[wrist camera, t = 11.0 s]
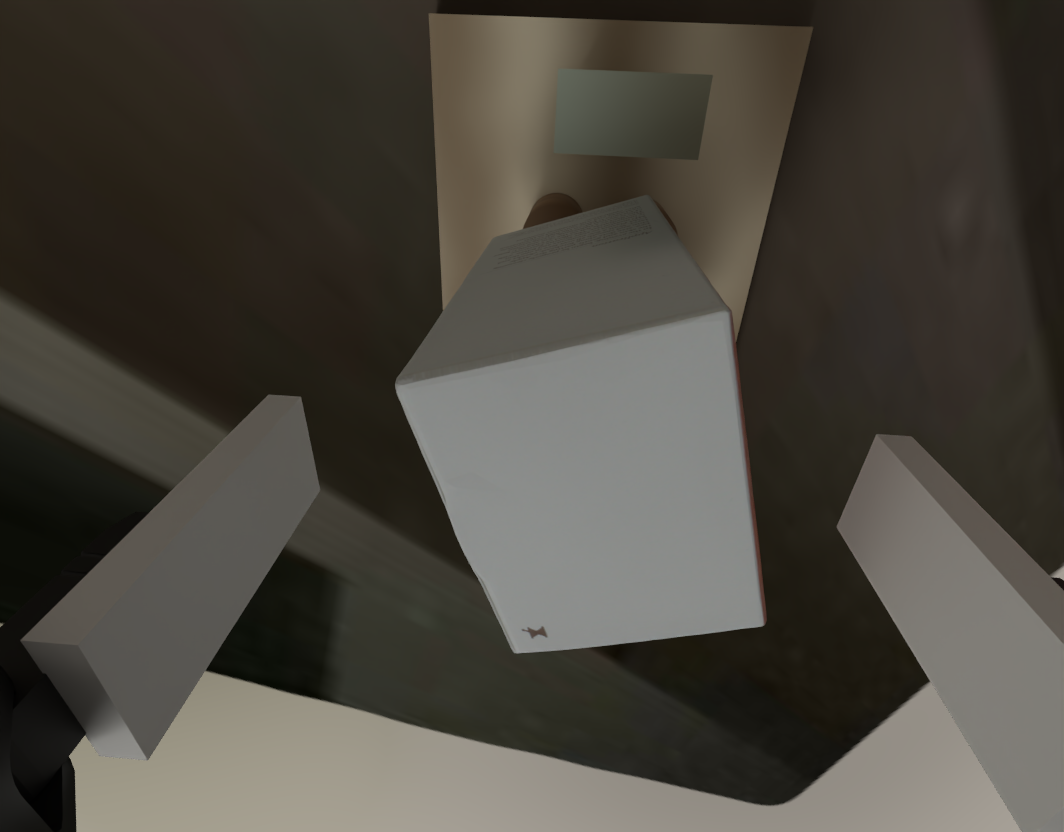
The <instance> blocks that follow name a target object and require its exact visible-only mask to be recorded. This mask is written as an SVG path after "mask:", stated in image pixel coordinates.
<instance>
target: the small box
mask: <svg viewBox="0 0 1064 832" xmlns="http://www.w3.org/2000/svg"><path fill="white" fill-rule="evenodd" d="M395 388H396V392H397V396H398V398H399V400H400V402H401V404H402V407H403V409H404V412H405V414H406V417H407V419H408V422H409V424H410V426H411V428H412V431H413V433H414V435H415V437H416V440H417V442H418V445H419V447H420V449H421V452H422V454H423V457H424V459H425V461H426V463H427V465H428V468H429V470H430V472H431V474H432V477H433V479H434V481H435V483H436V486H437V488H438V491H439V493H440V495H441V498H442V500H443V502H444V504H445V507H446V510H447V512H448V515H449V518H450V521H451V523H452V526H453V529H454V532H455V534H456V537H457V539H458V541H459V543H460V545H461V548H462V550H463V552H464V554H465V556H466V558H467V560H468V561H469V563H470V565H471V567H472V569H473V571H474V573H475V574H476V576H477V577H478V579H479V581H480V583H481V585H482V587H483V589H484V591H485V593H486V595H487V597H488V599H489V602H490V604H491V606H492V608H493V610H494V613H495V615H496V617H497V619H498V621H499V623H500V625H501V627H502V629H503V631H504V633H505V636H506V638H507V640H508V642H509V644H510V647H511V649H512V650H513V652H514V653H528V652H543V651H556V650H567V649H577V648H587V647H596V646H605V645H613V644H622V643H631V642H640V641H648V640H656V639H666V638H672V637H681V636H689V635H698V634H707V633H714V632H722V631H729V630H736V629H743V628H753V627H760V626H763V625H765V623H766V620H767V618H766V607H765V598H764V589H763V579H762V569H761V560H760V550H759V541H758V533H757V524H756V515H755V506H754V498H753V490H752V480H751V469H750V461H749V453H748V444H747V436H746V429H745V419H744V411H743V402H742V393H741V383H740V374H739V365H738V357H737V349H736V341H735V333H734V324H733V316H732V310H731V309H730V308H729V307H728V306H727V305H726V304H725V303H724V301H723V300H722V298H721V297H720V295H719V294H718V292H717V291H716V290H715V288H714V287H713V286H712V284H711V283H710V281H709V280H708V278H707V277H706V275H705V274H704V272H703V271H702V270H701V268H700V267H699V265H698V264H697V262H696V261H695V260H694V258H693V257H692V256H691V254H690V253H689V251H688V250H687V249H686V247H685V246H684V244H683V242H682V241H681V240H680V238H679V237H678V236H677V234H676V233H675V231H674V230H673V228H672V227H671V225H670V224H669V223H668V221H667V220H666V218H665V217H664V215H663V214H662V213H661V211H660V209H659V208H658V207H657V205H656V204H655V202H654V201H653V199H652V198H651V196H649V195H644V196H640V197H637V198H633V199H630V200H626V201H622V202H619V203H615V204H612V205H608V206H604V207H601V208H597V209H594V210H590V211H586V212H583V213H579V214H576V215H572V216H568V217H565V218H561V219H558V220H554V221H551V222H547V223H543V224H540V225H536V226H532V227H529V228H525V229H521V230H518V231H514V232H511V233H507V234H503V235H500V236H497V237H494V238H493V239H492V240H491V242H490V243H489V244H488V246H487V247H486V249H485V250H484V252H483V253H482V255H481V256H480V258H479V259H478V260H477V262H476V263H475V265H474V266H473V268H472V269H471V271H470V272H469V274H468V275H467V277H466V278H465V280H464V282H463V283H462V285H461V286H460V288H459V289H458V291H457V292H456V293H455V294H454V296H453V298H452V299H451V301H450V302H449V303H448V305H447V306H446V308H445V309H444V311H443V312H442V314H441V315H440V317H439V318H438V320H437V321H436V323H435V324H434V326H433V327H432V329H431V330H430V332H429V333H428V335H427V336H426V338H425V339H424V341H423V342H422V344H421V345H420V347H419V348H418V349H417V351H416V352H415V354H414V356H413V357H412V358H411V360H410V361H409V363H408V364H407V365H406V367H405V368H404V369H403V371H402V372H401V373H400V375H399V376H398V377H397V379H396V384H395Z"/></svg>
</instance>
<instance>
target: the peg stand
mask: <svg viewBox="0 0 1064 832" xmlns="http://www.w3.org/2000/svg"><path fill="white" fill-rule="evenodd" d="M429 27H430V48H431V69H432V90H433V111H434V132H435V153H436V174H437V194H438V215H439V236H440V257H441V278H442V299H443V311H444V309H445V308H446V306H447V305H448V303H449V302H450V301H451V299H452V298H453V296H454V294H455V293H456V292H457V291H458V289H459V288H460V286H461V285H462V283H463V282H464V280H465V278H466V277H467V275H468V274H469V272H470V271H471V269H472V268H473V266H474V265H475V263H476V262H477V260H478V259H479V258H480V256H481V255H482V253H483V252H484V250H485V249H486V247H487V246H488V244H489V243H490V242H491V240H492V239H493V238H494V237H497V236H500V235H503V234H507V233H511V232H514V231H518V230H521V229H525V228H529V227H532V226H536V225H540V224H543V223H547V222H551V221H554V220H558V219H561V218H565V217H568V216H572V215H576V214H579V213H583V212H586V211H590V210H594V209H597V208H601V207H604V206H608V205H612V204H615V203H619V202H622V201H626V200H630V199H633V198H637V197H640V196H644V195H649V196H651V198H652V199H653V201H654V202H655V204H656V205H657V207H658V208H659V209H660V211H661V213H662V214H663V215H664V217H665V218H666V220H667V221H668V223H669V224H670V225H671V227H672V228H673V230H674V231H675V233H676V234H677V236H678V237H679V238H680V240H681V241H682V242H683V244H684V246H685V247H686V249H687V250H688V251H689V253H690V254H691V256H692V257H693V258H694V260H695V261H696V262H697V264H698V265H699V267H700V268H701V270H702V271H703V272H704V274H705V275H706V277H707V278H708V280H709V281H710V283H711V284H712V286H713V287H714V288H715V290H716V291H717V292H718V294H719V295H720V297H721V298H722V300H723V301H724V303H725V304H726V305H727V306H728V307H729V308H730V309H731V310H732V316H733V324H734V333H735V341H736V340H737V336H738V332H739V328H740V324H741V320H742V316H743V312H744V308H745V304H746V300H747V295H748V291H749V287H750V283H751V279H752V275H753V271H754V267H755V263H756V259H757V255H758V251H759V247H760V242H761V238H762V234H763V230H764V226H765V222H766V218H767V214H768V210H769V206H770V202H771V198H772V194H773V190H774V185H775V181H776V177H777V173H778V169H779V165H780V161H781V157H782V153H783V149H784V145H785V141H786V137H787V133H788V128H789V124H790V120H791V116H792V112H793V108H794V104H795V100H796V96H797V92H798V88H799V84H800V80H801V75H802V71H803V67H804V63H805V59H806V55H807V51H808V47H809V43H810V39H811V35H812V31H813V27H798V26H770V25H742V24H714V23H685V22H657V21H629V20H601V19H572V18H544V17H516V16H487V15H459V14H431V13H429Z"/></svg>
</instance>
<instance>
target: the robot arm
mask: <svg viewBox="0 0 1064 832" xmlns="http://www.w3.org/2000/svg"><path fill="white" fill-rule="evenodd" d="M319 491H320V487H319V483H318V478H317V473H316V468H315V463H314V458H313V453H312V449H311V444H310V439H309V434H308V429H307V424H306V419H305V415H304V410H303V405H302V400H301V397H295V396H280V395H268V396H267V397H266V398H265V399H264V400H263V401H262V402H261V403H260V404H259V405H258V406H257V407H256V408H255V409H254V410H253V411H252V412H251V413H250V414H249V415H248V416H247V417H246V418H245V419H244V420H243V421H242V422H241V423H240V424H239V425H238V426H237V427H236V428H235V429H234V430H232V431H231V432H230V433H229V434H228V435H227V436H226V437H225V438H224V439H223V440H222V441H221V442H220V443H219V444H218V445H217V446H216V447H215V448H214V449H213V450H212V451H211V452H210V453H209V454H208V455H207V456H206V457H205V458H204V459H203V460H202V461H201V462H200V463H199V464H198V465H197V466H196V467H195V468H194V469H193V470H192V471H191V472H190V473H189V474H188V475H187V476H186V477H185V478H184V479H183V480H182V481H181V482H180V483H179V484H178V485H177V486H176V487H175V488H174V489H173V490H172V491H171V492H170V493H169V494H168V495H167V496H166V497H165V498H164V499H163V500H162V501H161V502H160V503H159V504H158V505H157V506H156V507H155V508H154V509H153V510H152V511H151V512H150V513H145V512H135V513H133V514H131V515H130V516H128V517H126V518H124V519H123V520H121V521H119V522H118V523H116V524H114V525H113V526H111V527H109V528H107V529H106V530H104V531H103V532H102V533H101V534H100V535H99V536H98V537H97V538H96V539H95V540H94V541H93V542H91V543H90V544H89V545H88V546H87V547H86V548H85V549H84V550H83V551H82V552H81V556H80V557H77V556H76V557H75V558H74V559H73V560H72V561H71V562H70V563H69V564H68V565H67V566H66V567H65V568H64V569H62V570H61V571H62V573H61V575H60V576H59V575H56V576H55V577H54V578H53V579H52V580H51V581H50V582H49V583H47V584H46V585H45V586H44V587H43V588H42V589H41V590H40V591H39V592H38V593H37V594H36V595H35V596H34V597H32V598H31V599H30V600H29V601H28V602H27V603H26V604H25V605H24V606H23V607H22V608H21V609H20V610H18V611H17V612H16V613H15V614H14V615H13V616H12V617H11V618H10V619H9V620H8V621H7V622H6V623H5V624H3V625H2V626H1V627H0V832H76V803H75V770H74V768H73V765H72V762H71V759H70V758H69V755H70V754H71V753H72V751H73V750H74V749H75V747H76V746H77V745H78V743H79V742H80V741H81V739H82V738H83V737H84V736H85V735H86V737H87V738H88V740H89V741H90V743H91V744H92V746H93V747H94V749H95V750H96V752H97V753H98V754H99V756H105V757H116V758H127V759H138V760H148V759H149V758H150V756H151V754H152V753H153V751H154V750H155V748H156V747H157V745H158V744H159V742H160V740H161V739H162V737H163V736H164V734H165V733H166V731H167V730H168V728H169V726H170V725H171V723H172V722H173V720H174V718H175V717H176V715H177V714H178V712H179V711H180V709H181V708H182V706H183V704H184V703H185V701H186V700H187V698H188V696H189V695H190V693H191V692H192V690H193V689H194V687H195V686H196V684H197V682H198V681H199V679H200V678H201V676H202V675H203V673H204V672H205V670H206V668H207V667H208V665H209V664H210V662H211V661H212V659H213V657H214V656H215V654H216V653H217V651H218V650H219V648H220V646H221V645H222V643H223V642H224V640H225V639H226V637H227V635H228V634H229V632H230V631H231V629H232V628H233V626H234V624H235V623H236V621H237V620H238V618H239V617H240V615H241V614H242V612H243V610H244V609H245V607H246V606H247V604H248V603H249V601H250V599H251V598H252V596H253V595H254V593H255V592H256V590H257V588H258V587H259V585H260V584H261V582H262V581H263V579H264V577H265V576H266V574H267V573H268V571H269V570H270V568H271V566H272V565H273V563H274V562H275V560H276V559H277V557H278V556H279V554H280V552H281V551H282V549H283V548H284V546H285V545H286V543H287V541H288V540H289V538H290V537H291V535H292V534H293V532H294V530H295V529H296V527H297V526H298V524H299V523H300V521H301V519H302V518H303V516H304V515H305V513H306V512H307V510H308V508H309V507H310V505H311V504H312V502H313V501H314V499H315V497H316V496H317V494H318V493H319ZM837 529H838V530H839V532H840V533H841V535H842V537H843V538H844V540H845V542H846V543H847V545H848V547H849V548H850V550H851V552H852V553H853V555H854V556H855V558H856V560H857V561H858V563H859V565H860V566H861V568H862V570H863V571H864V573H865V575H866V576H867V578H868V580H869V581H870V583H871V584H872V586H873V588H874V589H875V591H876V593H877V594H878V596H879V598H880V599H881V601H882V603H883V604H884V606H885V607H886V609H887V611H888V612H889V614H890V616H891V617H892V619H893V621H894V622H895V624H896V626H897V627H898V629H899V630H900V632H901V634H902V635H903V637H904V639H905V640H906V642H907V644H908V645H909V647H910V649H911V650H912V652H913V653H914V655H915V657H916V658H917V660H918V662H919V663H920V665H921V667H922V668H923V670H924V672H925V673H926V675H927V677H928V678H929V680H930V681H931V683H932V685H933V686H934V687H935V690H936V691H937V693H938V695H939V696H940V698H941V699H942V701H943V703H944V704H945V706H946V708H947V709H948V711H949V713H950V714H951V716H952V718H953V719H954V720H955V722H956V724H957V726H958V727H959V729H960V731H961V732H962V734H963V736H964V737H965V739H966V740H967V742H968V744H969V746H970V747H971V749H972V750H973V752H974V754H975V755H976V757H977V759H978V760H979V762H980V764H981V765H982V767H983V768H984V770H985V772H986V774H987V775H988V777H989V778H990V780H991V782H992V783H993V785H994V787H995V788H996V790H997V791H998V793H999V795H1000V797H1001V798H1002V800H1003V801H1004V803H1005V805H1006V806H1007V808H1008V810H1009V811H1010V813H1011V815H1012V816H1013V818H1014V819H1015V821H1016V823H1017V825H1018V826H1019V828H1020V829H1021V831H1022V832H1064V581H1063V580H1062V579H1060V578H1051V577H1050V576H1049V575H1048V574H1047V573H1046V572H1045V571H1044V570H1043V569H1042V568H1041V567H1040V566H1039V565H1038V564H1037V563H1036V562H1035V561H1034V560H1033V559H1032V558H1031V557H1030V556H1029V555H1028V554H1027V553H1026V552H1025V551H1024V550H1023V549H1022V548H1021V547H1020V546H1019V545H1018V544H1017V543H1016V542H1015V541H1014V540H1013V539H1012V538H1011V537H1010V536H1009V535H1008V534H1007V533H1006V532H1005V531H1004V530H1003V529H1002V528H1001V527H1000V526H999V525H998V524H997V523H996V522H995V521H994V520H993V519H992V518H991V516H990V515H989V514H988V513H987V512H986V511H985V510H984V509H983V508H982V507H981V506H980V505H979V504H978V503H977V502H976V501H975V500H974V499H973V498H972V497H971V496H970V495H969V494H968V493H967V492H966V491H965V490H964V489H963V488H962V487H961V486H960V485H959V484H958V483H957V482H956V481H955V480H954V479H953V478H952V477H951V476H950V475H949V474H948V473H947V472H946V471H945V470H944V469H943V468H942V467H941V466H940V465H939V464H938V463H937V462H936V461H935V460H934V459H933V458H932V457H931V456H930V455H929V454H928V453H927V452H926V451H925V450H924V449H923V448H922V447H921V446H920V445H919V444H918V443H917V442H916V441H915V440H914V439H913V437H912V436H897V435H881V434H876V436H875V439H874V441H873V443H872V446H871V448H870V450H869V453H868V455H867V457H866V460H865V462H864V464H863V467H862V469H861V471H860V474H859V476H858V478H857V481H856V483H855V485H854V488H853V490H852V492H851V495H850V497H849V499H848V502H847V504H846V506H845V509H844V511H843V513H842V516H841V518H840V520H839V523H838V525H837Z"/></svg>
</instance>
